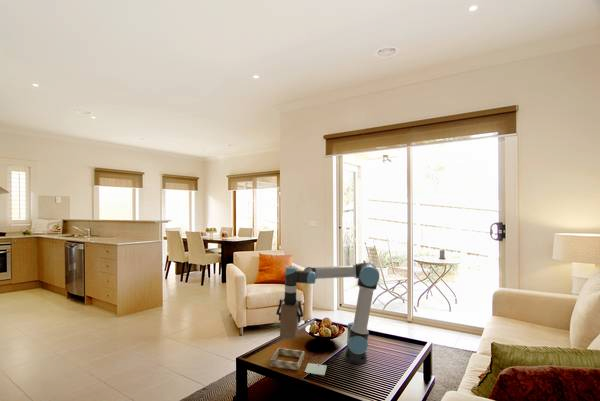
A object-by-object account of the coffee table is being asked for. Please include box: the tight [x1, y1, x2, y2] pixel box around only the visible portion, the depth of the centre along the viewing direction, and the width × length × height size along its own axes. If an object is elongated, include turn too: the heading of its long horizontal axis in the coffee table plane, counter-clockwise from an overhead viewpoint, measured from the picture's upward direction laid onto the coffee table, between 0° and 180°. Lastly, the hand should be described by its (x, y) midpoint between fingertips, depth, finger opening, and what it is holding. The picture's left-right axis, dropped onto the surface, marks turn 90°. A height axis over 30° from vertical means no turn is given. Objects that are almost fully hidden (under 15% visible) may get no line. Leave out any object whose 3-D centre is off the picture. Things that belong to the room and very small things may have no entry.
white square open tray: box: [269, 347, 305, 371], centre depth 210 cm, size 18×18×4 cm
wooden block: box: [279, 301, 300, 340], centre depth 211 cm, size 10×10×20 cm
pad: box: [304, 362, 328, 376], centre depth 202 cm, size 12×12×1 cm
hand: (289, 326), depth 211 cm, fingers closed on wooden block, 10 cm apart
